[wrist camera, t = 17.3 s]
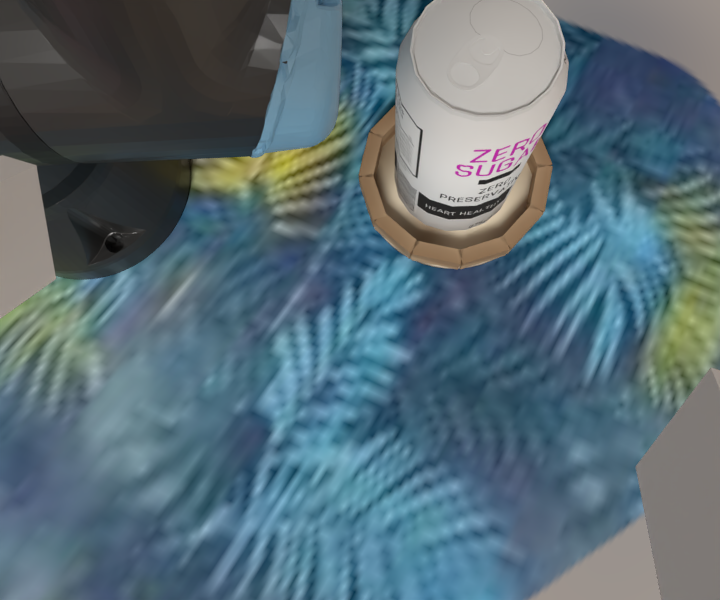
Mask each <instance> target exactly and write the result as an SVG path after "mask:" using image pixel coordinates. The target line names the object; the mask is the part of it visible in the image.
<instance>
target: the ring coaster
mask: <svg viewBox="0 0 720 600" xmlns="http://www.w3.org/2000/svg"><path fill="white" fill-rule="evenodd" d="M551 165H552V162H551V160H550V157H549V155H548V152H547V150H546V147H545V145H544V143H543V140H542V138H541V137H540V139H539V141H538V142H537V144H536V146H535V148H534V150H533V151H532V153H531V155H530V157H529V159H528V160H527V162H526V164H525V166H524V168H523V169H522V171H521V173H520V175H519V177H518V178H517V180H516V182H515V184H514V186H513V187H512V189H511V191H510V193H509V195H508V196H507V198H506V200H505V202H504V204H503V205H502V207H501V209H500V210H499V211H498V212H497V213H496V214H495V215H493V216H492V217H491V218H490V219H489V220H488V221H486V222H485V223H483V224H481V225H478V226H475V227H473V228H470V229H468V230H456V231H444V230H441V229H437V228H434V227H431V226H428V225H425V224H424V223H422V222H421V221H420V220H418V219H417V218H416V217H414V216H413V215H412V214H410V213H409V212H408V210H407V209H406V207H405V206H404V204H403V202H402V201H401V199H400V198H399V196H398V192H397V187H396V183H395V178H394V175H395V105H394V106H393V107H392V109H391V110H390V111H389V112H388V113H387V114H386V115H385V116H384V117H383V118H382V119H381V120H380V121H379V122H378V123H377V124H376V125H375V126H374V127H373V128H372V129H371V130H370V132H369V135H368V139H367V143H366V147H365V151H364V155H363V159H362V163H361V168H360V172H359V182H360V187H361V190H362V194H363V197H364V200H365V203H366V207H367V210H368V213H369V215H370V218H371V221H372V224H373V227H375V230H377V231H378V232H379V233H380V234H381V235H382V237H383V238H384V239H385V240H386V241H387V242H388V243H389V244H390V245H391V246H392V247H394V248H395V249H396V250H397V251H399V252H400V253H402V254H403V255H405V256H406V257H408V258H410V259H411V260H414V261H417V262H419V263H422V264H425V265H429V266H433V267H439V268H446V269H459V268H460V269H463V268H468V267H473V266H477V265H481V264H484V263H486V262H489V261H492V260H494V259H496V258H498V257H501V256H505V255H506V254H508V253H509V252H510V250H511V249H512V248H513V247H514V246H515V245H516V244H517V243H518V242H519V241H520V240H521V238H522V237H523V236H524V235H525V234H526V233H527V232H528V231H529V230H530V228H531V227H532V226H533V225H534V224H535V223H536V222H537V221H538V220H539V218H540V217H541V216H542V215H543V212H544V211H545V206H546V200H547V195H548V189H549V184H550V178H551V172H552V167H553V166H551Z"/></svg>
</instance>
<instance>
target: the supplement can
mask: <svg viewBox="0 0 720 600" xmlns="http://www.w3.org/2000/svg"><path fill="white" fill-rule="evenodd" d="M568 65H569V63H568V59H567V56H566V53H565V41H564V37H563V34H562V31H561V27H560V24H559V21H558V19H557V18H556V17H555V15H554V14H553V13H552V11H551V10H550V9H549V8H548V6H547V5H546V4H545V3H544V1H543V0H434V1H432V2H431V3H430V4H429V5H427V6H426V8H425V9H424V11H423V13H422V14H421V16H420V17H419V18H418V19H417V20H416V21H415V22H414V23H413V25H412V26H411V28H410V30H409V31H408V33H407V35H406V36H405V38H404V40H403V41H402V43H401V45H400V50H399V56H398V62H397V68H396V102H395V175H394V178H395V183H396V187H397V192H398V196H399V198H400V199H401V201H402V202H403V204H404V206H405V207H406V209H407V210H408V212H409V213H410V214H412V215H413V216H414V217H416V218H417V219H418V220H420V221H421V222H422V223H424V224H425V225H428V226H431V227H434V228H437V229H441V230H444V231H456V230H468V229H470V228H473V227H475V226H478V225H481V224H483V223H485V222H486V221H488V220H489V219H490V218H491V217H492V216H493V215H495V214H496V213H497V212H498V211H499V210H500V209H501V207H502V205H503V204H504V202H505V200H506V198H507V196H508V195H509V193H510V191H511V189H512V187H513V186H514V184H515V182H516V180H517V178H518V177H519V175H520V173H521V171H522V169H523V168H524V166H525V164H526V162H527V160H528V159H529V157H530V155H531V153H532V151H533V150H534V148H535V146H536V144H537V142H538V141H539V139H540V137H541V135H542V133H543V131H544V130H545V128H546V126H547V124H548V122H549V121H550V119H551V117H552V115H553V113H554V112H555V110H556V108H557V106H558V104H559V102H560V100H561V99H562V97H563V95H564V93H565V91H566V85H567V75H568Z"/></svg>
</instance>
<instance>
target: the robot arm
mask: <svg viewBox="0 0 720 600" xmlns="http://www.w3.org/2000/svg"><path fill="white" fill-rule="evenodd" d="M341 48H342V0H0V318H2V317H3V316H5V315H6V314H7V313H9V312H10V311H12V310H13V309H14V308H16V307H17V306H19V305H20V304H21V303H23V302H24V301H26V300H27V299H29V298H30V297H31V296H33V295H34V294H36V293H37V292H38V291H40V290H41V289H43V288H44V287H45V286H47V285H48V284H50V283H51V282H52V281H54V280H55V279H56V276H58V277H62V278H68V279H95V278H101V277H106V276H110V275H113V274H116V273H119V272H121V271H124V270H126V269H128V268H130V267H132V266H134V265H136V264H137V263H139V262H141V261H142V260H144V259H145V258H146V257H148V256H149V255H150V254H151V253H153V252H154V251H155V250H156V249H157V248H158V247H159V246H160V245H161V244H162V243H163V242H164V241H165V239H166V238H167V237H168V236H169V235H170V233H171V232H172V230H173V229H174V227H175V226H176V224H177V222H178V220H179V218H180V216H181V214H182V212H183V209H184V207H185V204H186V200H187V197H188V192H189V186H190V164H189V159H199V158H221V157H244V156H250V157H260V156H262V155H263V154H264V153H269V152H277V151H284V150H292V149H300V148H307V147H312V146H314V145H317V144H318V143H320V142H321V141H323V140H324V139H325V138H327V137H328V135H329V134H330V133H331V131H332V130H333V128H334V126H335V123H336V120H337V116H338V108H339V95H340V76H341ZM636 471H637V476H638V481H639V486H640V491H641V497H642V502H643V507H644V512H645V517H646V522H647V528H648V533H649V538H650V543H651V548H652V554H653V558H654V563H655V569H656V574H657V579H658V585H659V589H660V595H661V600H720V370H717V369H714V368H710V369H709V371H708V372H707V373H706V375H705V376H704V377H703V379H702V380H701V381H700V382H699V384H698V385H697V386H696V388H695V389H694V390H693V392H692V393H691V394H690V396H689V397H688V398H687V400H686V401H685V402H684V404H683V405H682V406H681V408H680V409H679V410H678V411H677V413H676V414H675V415H674V417H673V418H672V419H671V421H670V422H669V423H668V425H667V426H666V427H665V429H664V430H663V431H662V433H661V434H660V435H659V437H658V438H657V439H656V440H655V442H654V443H653V444H652V446H651V447H650V448H649V450H648V451H647V452H646V454H645V455H644V456H643V458H642V459H641V460H640V462H639V463H638V464H637V466H636Z"/></svg>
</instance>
